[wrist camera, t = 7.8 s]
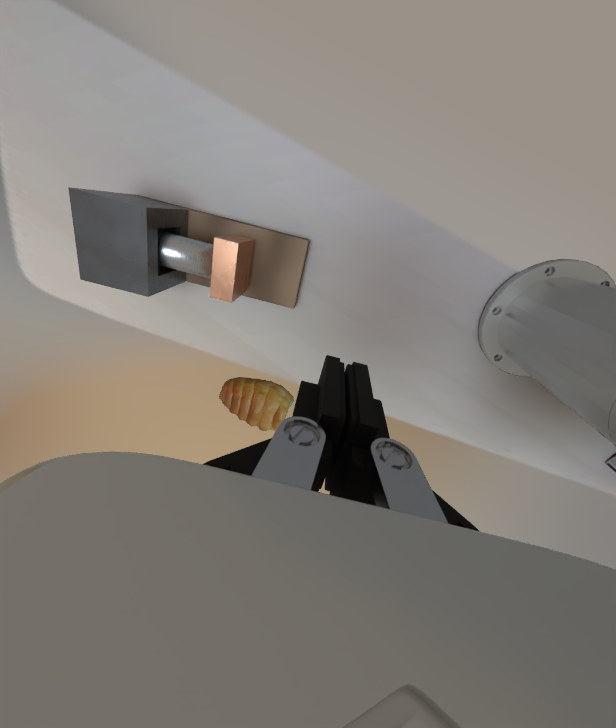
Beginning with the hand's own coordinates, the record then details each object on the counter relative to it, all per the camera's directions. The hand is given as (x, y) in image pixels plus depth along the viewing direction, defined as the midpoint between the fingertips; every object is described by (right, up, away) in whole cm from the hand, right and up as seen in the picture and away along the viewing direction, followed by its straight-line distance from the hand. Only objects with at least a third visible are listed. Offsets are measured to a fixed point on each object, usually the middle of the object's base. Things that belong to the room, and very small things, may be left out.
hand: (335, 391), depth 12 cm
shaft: (-13, +13, +17) cm, 25 cm away
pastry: (-7, -4, +28) cm, 29 cm away
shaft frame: (-11, +13, +19) cm, 26 cm away
